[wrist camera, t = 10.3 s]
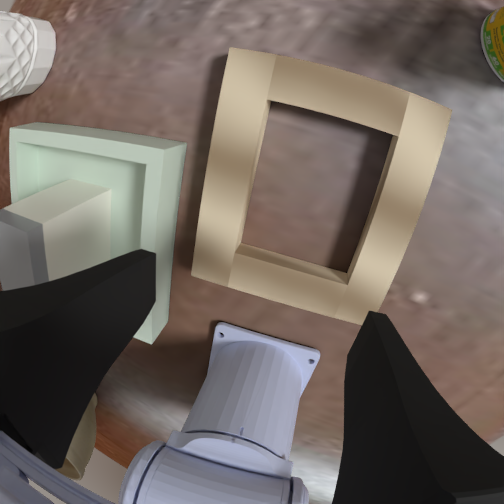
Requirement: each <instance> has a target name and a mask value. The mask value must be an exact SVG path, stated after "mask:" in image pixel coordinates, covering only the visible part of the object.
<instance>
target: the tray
mask: <svg viewBox="0 0 504 504" xmlns="http://www.w3.org/2000/svg"><path fill="white" fill-rule="evenodd" d="M186 147H187V143H185V142H180V141H175V140H169V139H163V138H158V137H152V136H146V135H140V134H133V133H127V132H120V131H113V130H106V129H98V128H90V127H82V126H73V125H64V124H54V123H42V122H35V123H30V124H25V125H21V126H16V127H12V128H10V147H9V151H10V185H11V200H12V204H14V203H16V202H18V201H20V200H22V199H24V198H27V197H29V196H31V195H33V194H36V193H38V192H40V191H42V190H45V189H47V188H49V187H52V186H54V185H57V184H59V183H62V182H64V181H67V180H69V179H74V180H78V181H82V182H86V183H90V184H94V185H98V186H102V187H106V188H110V189H112V193H111V227H110V253H111V259H113V258H116V257H118V256H121V255H124V254H126V253H129V252H132V251H135V250H138V249H143V250H147V251H150V252H154V253H156V302H155V304H154V306H153V307H152V309H151V311H150V313H149V315H148V316H147V318H146V320H145V321H144V323H143V325H142V326H141V327H140V329H139V330H138V331H137V333H136V334H135V335H134V336H133V337H134V338H137V339H139V340H142V341H144V342H146V343H149V344H151V345H152V344H153V342H154V341H155V339H156V338H157V336H158V335H159V334H160V332H161V331H162V329H163V328H164V327H165V325H166V324H167V322H168V316H169V300H170V287H171V274H172V263H173V252H174V242H175V232H176V223H177V214H178V206H179V197H180V190H181V182H182V175H183V168H184V161H185V154H186Z"/></svg>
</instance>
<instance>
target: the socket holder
mask: <svg viewBox="0 0 504 504" xmlns="http://www.w3.org/2000/svg"><path fill="white" fill-rule="evenodd" d="M271 100H272V101H276V102H281V103H285V104H290V105H294V106H298V107H302V108H306V109H310V110H314V111H318V112H322V113H325V114H329V115H332V116H336V117H339V118H343V119H346V120H350V121H353V122H356V123H359V124H362V125H366V126H369V127H372V128H375V129H378V130H381V131H384V132H387V133H389V134H392V135H393V137H392V140H391V144H390V147H389V151H388V154H387V158H386V161H385V164H384V168H383V171H382V174H381V177H380V181H379V184H378V187H377V190H376V193H375V196H374V199H373V202H372V205H371V208H370V211H369V214H368V217H367V220H366V223H365V226H364V228H363V231H362V234H361V237H360V240H359V242H358V245H357V248H356V251H355V253H354V256H353V259H352V261H351V264H350V267H349V269H348V272H347V273H344V272H341V271H337V270H334V269H331V268H327V267H324V266H320V265H317V264H313V263H310V262H306V261H303V260H299V259H296V258H292V257H289V256H286V255H282V254H279V253H275V252H272V251H268V250H265V249H261V248H258V247H254V246H251V245H247V244H244V243H241V239H242V235H243V230H244V225H245V220H246V215H247V211H248V206H249V201H250V197H251V192H252V187H253V183H254V178H255V173H256V169H257V164H258V159H259V155H260V150H261V145H262V141H263V136H264V132H265V127H266V123H267V118H268V114H269V109H270V105H271ZM451 113H452V110H451V109H449V108H447V107H445V106H442V105H440V104H438V103H435V102H433V101H431V100H428V99H426V98H423V97H421V96H418V95H416V94H413V93H411V92H408V91H405V90H403V89H400V88H397V87H395V86H392V85H389V84H386V83H383V82H380V81H377V80H374V79H371V78H368V77H365V76H361V75H358V74H355V73H351V72H348V71H344V70H341V69H337V68H333V67H330V66H326V65H322V64H318V63H314V62H309V61H305V60H300V59H296V58H291V57H286V56H281V55H276V54H270V53H264V52H258V51H252V50H245V49H238V48H230V49H229V54H228V58H227V63H226V68H225V73H224V77H223V82H222V87H221V92H220V97H219V102H218V107H217V112H216V118H215V123H214V129H213V134H212V140H211V145H210V151H209V157H208V163H207V169H206V175H205V181H204V187H203V194H202V200H201V207H200V213H199V220H198V227H197V234H196V242H195V249H194V257H193V265H192V273H191V276H194V277H197V278H201V279H204V280H207V281H210V282H213V283H217V284H220V285H223V286H226V287H230V288H233V289H236V290H239V291H243V292H246V293H249V294H253V295H256V296H259V297H263V298H266V299H270V300H273V301H276V302H280V303H283V304H287V305H290V306H294V307H297V308H301V309H304V310H308V311H312V312H315V313H319V314H322V315H326V316H330V317H333V318H337V319H341V320H344V321H348V322H352V323H356V324H359V325H362V324H363V322H364V320H365V318H366V316H367V314H368V312H369V310H370V311H374V312H378V310H379V308H380V306H381V304H382V302H383V300H384V298H385V296H386V294H387V291H388V289H389V287H390V285H391V283H392V281H393V278H394V276H395V274H396V272H397V269H398V267H399V265H400V263H401V260H402V258H403V256H404V253H405V251H406V248H407V246H408V244H409V241H410V239H411V236H412V234H413V231H414V229H415V226H416V223H417V221H418V218H419V215H420V213H421V210H422V207H423V205H424V202H425V199H426V196H427V193H428V190H429V188H430V185H431V182H432V179H433V176H434V173H435V169H436V166H437V163H438V160H439V157H440V153H441V150H442V146H443V143H444V140H445V136H446V132H447V129H448V125H449V121H450V117H451Z"/></svg>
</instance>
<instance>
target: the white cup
mask: <svg viewBox="0 0 504 504" xmlns="http://www.w3.org/2000/svg"><path fill="white" fill-rule="evenodd" d="M55 51H56V36H55V31H54V29H53V27H52V26H51V24H50V22H49V21H46V20H43V19H40V18H34V17H28V16H24V15H22V14H17V13H10V12H4V11H0V101H3V100H5V99H7V98H10V97H14V96H19V95H24V94H29V93H33V92H34V91H35V90H36V89H37V88H38V87H39V86H40V85H42V84H43V82H44V81H45V79H46V77H47V75H48V73H49V71H50V69H51V67H52V64H53V60H54V56H55Z"/></svg>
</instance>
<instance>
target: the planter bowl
mask: <svg viewBox="0 0 504 504" xmlns="http://www.w3.org/2000/svg"><path fill="white" fill-rule="evenodd" d="M96 405H97V396H96V393H94V395H93V397H92V399H91V400H90V402H89V404H88V406H87V408H86V410H85V412H84V414H83V416H82V419H81V421H80V423H79V425H78V428H77V430H76V432H75V434H74V437H73V439H72V442H71V444H70V447H69V450H68V452H67V455H66V458H65V461H64V464H63V467H62V468H59V469H55V470H56V471H58V472H59V473H61V474H62V475H64V476H66V477H68V478H70V479H73V480H81V479H82V477H83V475H84V471H85V467H86V466H87V464H88V462H89V460H90V458H91V455H92V452H93V449H94V445H95V439H96V416H95V407H96Z"/></svg>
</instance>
